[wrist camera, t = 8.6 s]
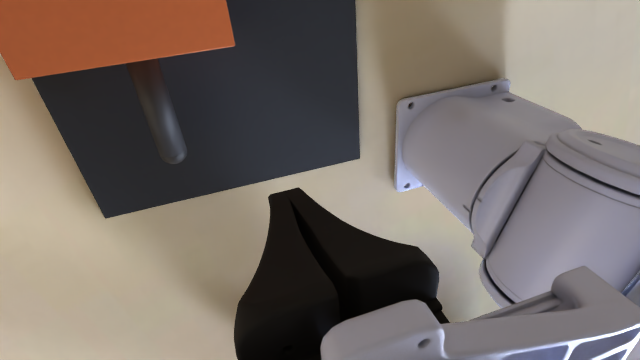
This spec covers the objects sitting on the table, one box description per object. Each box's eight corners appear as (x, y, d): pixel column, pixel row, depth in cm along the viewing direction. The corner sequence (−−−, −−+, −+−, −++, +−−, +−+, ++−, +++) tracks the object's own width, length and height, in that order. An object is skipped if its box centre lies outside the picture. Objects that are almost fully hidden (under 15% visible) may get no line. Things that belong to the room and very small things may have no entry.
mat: (343, -284, 16) (347, -289, 15) (358, 156, 28) (360, 158, 27) (-162, -300, 12) (-172, -307, 12) (106, 215, 24) (105, 218, 24)
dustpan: (161, -315, 11) (-214, -333, 9) (260, 165, 20) (83, 204, 18) (167, -247, 15) (-99, -250, 13) (248, 132, 24) (100, 163, 22)
